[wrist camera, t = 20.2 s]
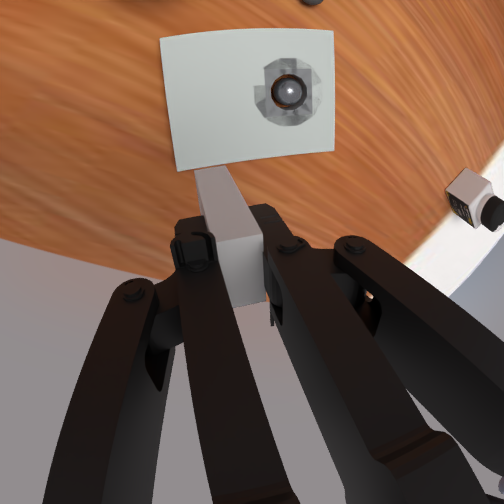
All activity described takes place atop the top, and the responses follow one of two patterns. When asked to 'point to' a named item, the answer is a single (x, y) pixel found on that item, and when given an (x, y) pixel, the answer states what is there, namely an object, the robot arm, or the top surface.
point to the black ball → (313, 2)
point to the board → (247, 94)
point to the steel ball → (287, 91)
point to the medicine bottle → (476, 201)
